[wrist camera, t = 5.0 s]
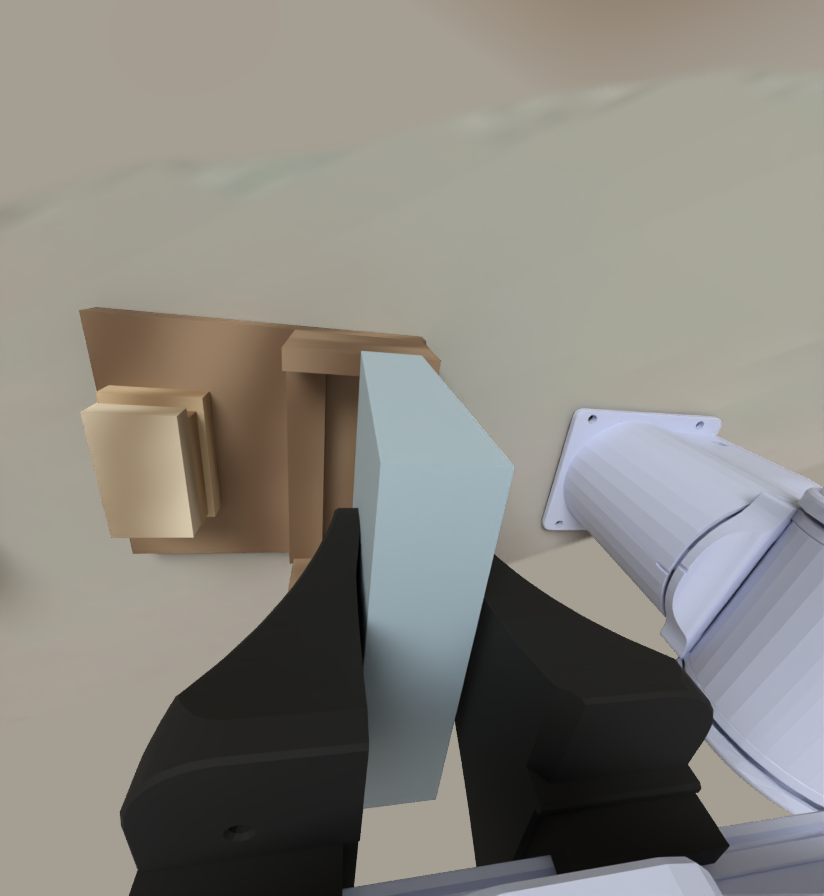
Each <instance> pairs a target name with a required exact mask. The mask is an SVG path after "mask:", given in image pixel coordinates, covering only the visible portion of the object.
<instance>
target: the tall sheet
mask: <svg viewBox="0 0 824 896" xmlns="http://www.w3.org/2000/svg"><path fill="white" fill-rule="evenodd" d="M514 468H515V467H514V465H513V464H512V463H511V462H510V461H509V459H508V458H507V457H506V456H505V455H504V453H503V452H502V451H501V450H500V449H499V447H498V446H497V445H496V444H495V443H494V441H493V440H492V439H491V438H490V437H489V435H488V434H487V433H486V432H485V431H484V429H483V428H482V427H481V426H480V425H479V423H478V422H477V421H476V420H475V419H474V417H473V416H472V415H471V414H470V413H469V411H468V410H467V409H466V408H465V407H464V405H463V404H462V403H461V402H460V401H459V399H458V398H457V397H456V396H455V395H454V393H453V392H452V391H451V390H450V389H449V387H448V386H447V385H446V384H445V383H444V381H443V380H442V379H441V378H440V377H439V375H438V374H437V373H436V372H435V371H434V369H433V368H432V367H431V366H430V365H429V363H428V362H427V361H426V360H425V359H424V357H423V356H420V355H408V354H395V353H382V352H369V351H361V362H360V381H359V399H358V418H357V436H356V455H355V473H354V492H353V508H358V511H359V519H360V541H359V557H358V573H357V603H358V617H359V631H360V642H361V654H362V664H363V673H364V683H365V692H366V700H367V709H368V730H369V756H368V766H367V776H366V785H365V795H364V805H363V809H365V808H373V807H380V806H389V805H396V804H404V803H412V802H419V801H427V800H435V799H436V796H437V792H438V788H439V784H440V779H441V775H442V771H443V766H444V763H445V758H446V754H447V750H448V746H449V741H450V737H451V733H452V729H453V725H454V721H455V716H456V712H457V708H458V704H459V700H460V695H461V691H462V687H463V683H464V678H465V674H466V670H467V666H468V662H469V657H470V653H471V649H472V645H473V641H474V636H475V632H476V628H477V624H478V619H479V615H480V611H481V607H482V603H483V598H484V594H485V590H486V586H487V582H488V577H489V573H490V569H491V565H492V561H493V556H494V552H495V548H496V544H497V539H498V535H499V531H500V527H501V523H502V518H503V514H504V510H505V506H506V502H507V497H508V493H509V489H510V485H511V481H512V476H513V472H514Z"/></svg>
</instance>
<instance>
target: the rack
mask: <svg viewBox="0 0 824 896" xmlns="http://www.w3.org/2000/svg"><path fill="white" fill-rule="evenodd" d="M79 312H80V317H81V321H82V326H83V330H84V335H85V339H86V344H87V349H88V353H89V358H90V362H91V367H92V371H93V376H94V380H95V385H96V389H97V391H99V390H101V389H102V388H104V387H106V386H108V385H113V386H129V387H146V388H163V389H180V390H196V391H210V401H211V411H212V421H213V430H214V440H215V450H216V460H217V470H218V480H219V490H220V499H221V507H220V509H219V511H218V513H217V514H216V516H215V517H206V518H205V520H204V522H203V524H202V526H200V527H199V529H198V531H197V532H196V534H195V536H194V538H130V542H131V547H132V551H133V554H141V553H245V552H290V563H293V566H292V572H291V577H290V583H289V589H288V592H289V591H290V589H291V588H292V587H293V585H294V584H295V583H296V581H297V580H298V579H299V577H300V576H301V575H302V573H303V572H304V570H305V568H306V567H307V565H308V564H309V562H310V561H311V559H312V558H313V556H314V555H315V553H316V551H317V549H318V548H319V546H320V544H321V542H322V540H323V538H324V537H325V534H326V532H327V530H328V528H329V526H330V523H331V521H332V518H333V514H334V511H335V510H336V509H337V508H353V492H354V473H355V455H356V436H357V418H358V399H359V381H360V362H361V351H369V352H382V353H395V354H408V355H420V356H423V357H424V359H425V360H426V361H427V362H428V363H429V365H430V366H431V367H432V368H433V369H434V371H435V372H436V373H437V374H438V375H439V369H440V362H441V360H440V359H439V358H438V357H437V356H436V355H435V354H434V353H433V352H432V351H431V350H430V349H429V348H428V347H427V346H426V341H425V340H424V339H423V338H422V337H417V336H406V335H395V334H384V333H373V332H362V331H351V330H340V329H329V328H318V327H307V326H296V325H285V324H274V323H263V322H252V321H241V320H230V319H219V318H208V317H197V316H186V315H175V314H164V313H153V312H142V311H132V310H121V309H110V308H99V307H95V308H90V309H84V310H79Z"/></svg>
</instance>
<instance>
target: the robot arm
mask: <svg viewBox="0 0 824 896" xmlns="http://www.w3.org/2000/svg"><path fill="white" fill-rule="evenodd" d="M591 415H593V418H592V419H591V420H590V421H588V418H589V417H590V416H591ZM698 422H699V423H698ZM697 423H698V425H697ZM696 425H697V426H696ZM720 427H721V420H720V419H719V418H716V417H713V416H699V415H683V414H667V413H651V412H635V411H619V410H603V409H587V408H582V409H579V410H577V411H576V412H575V413H574V415H573V417H572V421H571V424H570V428H569V431H568V434H567V438H566V441H565V445H564V448H563V451H562V455H561V458H560V462H559V465H558V468H557V472H556V475H555V479H554V482H553V485H552V489H551V492H550V496H549V499H548V502H547V506H546V509H545V513H544V516H543V519H542V525H543V526H544V528H545V529H547V530H587V531H588V532H589V533H590V534H591V535H592V536H593V537H594V538H595V539H596V541H597V542H598V543H599V544H600V545H601V546H602V547H603V548H604V549H605V550H606V552H607V553H608V554H609V555H610V556H611V557H612V558H613V559H614V560H615V562H616V563H617V564H618V565H619V566H620V567H621V568H622V569H623V571H624V572H625V573H626V574H627V575H628V576H629V577H630V578H631V579H632V581H633V582H634V583H635V584H636V585H637V586H638V587H639V588H640V589H641V591H642V592H643V593H644V594H645V595H646V596H647V597H648V598H649V599H650V601H651V602H652V603H653V604H654V605H655V606H656V607H657V608H658V609H659V611H660V612H661V613H662V614H663V615H664V616H665V617H666V622H665V624H664V627H663V628H662V630H661V632H660V635H661V636H662V637H663V638H664V639H665V640H666V642H667V643H668V644H669V645H670V646H671V647H672V649H673V650H674V651H675V652H676V653H677V655H678V656H679V657H678V658H677V659H676V660H675V659H674V658H671V657H669V656H667V655H664V654H662V653H659V652H657V651H655V650H653V649H650V648H648V647H646V646H643V645H641V644H638V643H636V642H634V641H631V640H629V639H627V638H625V637H623V636H621V635H619V634H617V633H615V632H612V631H611V630H609V629H607V628H604V627H603V626H601V625H599V624H597V623H595V622H593V621H591V620H589V619H587V618H586V617H583V616H582V615H580V614H578V613H577V612H575V611H573V610H572V609H570V608H568V607H567V606H565V605H563V604H562V603H560V602H558V601H557V600H555V599H553V598H552V597H550V596H549V595H547V594H546V593H544V592H543V591H541V590H540V589H538V588H537V587H535V586H534V585H533V584H531V583H530V582H528V581H527V580H525V579H524V578H523V577H521V576H520V575H519V574H518V573H516V572H515V571H514V570H513V569H511V568H510V567H509V566H508V565H506V564H505V563H504V562H503V561H502V560H500V559H499V558H498V557H497V556H496V555H495V554H494V556H493V561H492V565H491V569H490V573H489V577H488V582H487V586H486V590H485V594H484V598H483V603H482V607H481V611H480V615H479V619H478V624H477V628H476V632H475V636H474V641H473V645H472V649H471V653H470V657H469V662H468V666H467V670H466V674H465V678H464V683H463V687H462V691H461V695H460V700H459V704H458V708H457V712H456V716H455V725H456V731H457V737H458V743H459V749H460V755H461V761H462V768H463V775H464V780H465V788H466V795H467V801H468V808H469V815H470V822H471V830H472V837H473V845H474V852H475V860H476V867H474V868H468V869H462V870H456V871H449V872H443V873H438V874H431V875H425V876H419V877H413V878H407V879H400V880H394V881H388V882H382V883H377V884H370V885H364V886H358V887H354V881H355V870H356V860H357V851H358V841H360V833H361V824H362V814H363V805H364V795H365V785H366V776H367V766H368V756H369V730H368V709H367V700H366V692H365V683H364V673H363V664H362V654H361V642H360V631H359V617H358V603H357V573H358V557H359V541H360V519H359V511H358V508H337V509H336V510H335V511H334V514H333V518H332V521H331V523H330V526H329V528H328V530H327V532H326V534H325V537H324V538H323V540H322V542H321V544H320V546H319V548H318V549H317V551H316V553H315V555H314V556H313V558H312V559H311V561H310V562H309V564H308V565H307V567H306V568H305V570H304V572H303V573H302V575H301V576H300V577H299V579H298V580H297V581H296V583H295V584H294V585H293V587H292V588H291V589H290V591H289V592H288V593H287V594H286V596H285V597H284V598H283V599H282V600H281V602H280V603H279V604H278V605H277V606H276V607H275V608H274V609H273V611H272V612H271V613H270V614H269V615H268V616H267V617H266V618H265V619H264V620H263V622H262V623H261V624H260V625H259V626H258V627H257V628H256V629H255V630H254V631H253V632H252V633H251V634H249V635H248V636H247V637H246V638H245V639H244V640H243V641H242V642H241V643H240V644H239V645H238V646H237V647H236V648H234V649H233V650H232V651H231V652H230V653H229V654H228V655H227V656H226V657H225V658H224V659H222V660H221V661H220V662H219V663H218V664H217V665H215V666H214V667H213V668H212V669H210V670H209V671H208V672H207V673H205V674H204V675H203V676H202V677H200V678H199V679H198V680H196V681H195V682H194V683H193V684H191V685H190V686H189V687H188V688H187V689H185V690H184V691H183V692H181V693H180V694H179V695H177V696H176V697H175V699H174V700H173V702H172V704H171V705H170V707H169V708H168V710H167V712H166V713H165V715H164V717H163V718H162V720H161V722H160V724H159V725H158V727H157V729H156V731H155V733H154V735H153V737H152V738H151V740H150V742H149V744H148V746H147V748H146V750H145V752H144V754H143V756H142V758H141V761H140V763H139V765H138V768H137V770H136V773H135V775H134V778H133V780H132V783H131V785H130V788H129V790H128V793H127V795H126V798H125V801H124V803H123V805H122V808H121V811H120V818H121V827H122V829H123V832H124V834H125V837H126V840H127V843H128V845H129V848H130V850H131V853H132V856H133V859H134V861H135V864H136V866H137V869H138V871H137V874H136V877H135V879H134V882H133V885H132V888H131V891H130V894H129V896H824V488H822V487H821V486H819V485H818V484H816V483H815V482H813V481H812V480H810V479H808V478H806V477H803V476H801V475H799V474H797V473H795V472H793V471H791V470H789V469H786V468H784V467H782V466H780V465H778V464H776V463H774V462H771V461H769V460H767V459H765V458H763V457H761V456H759V455H756V454H754V453H752V452H750V451H748V450H746V449H744V448H742V447H739V446H737V445H735V444H733V443H731V442H729V441H727V440H724V439H722V438H720V437H718V436H717V434H718V431H719V429H720ZM558 521H559V523H557V524H556V522H558ZM704 740H705V741H706V742H707V743H708V745H709V746H710V747H711V748H712V749H713V751H714V752H715V753H716V754H717V755H718V756H719V757H720V758H721V759H722V760H723V761H724V762H725V763H726V764H727V765H728V766H729V767H730V768H731V769H732V770H733V771H734V772H735V773H736V774H737V775H738V776H739V777H741V778H742V779H743V780H744V781H745V782H746V783H747V784H749V785H750V786H751V787H752V788H754V789H755V790H756V791H758V792H759V793H760V794H762V795H763V796H765V797H766V798H767V799H769V800H770V801H772V802H773V803H775V804H776V805H778V806H780V807H781V808H783V809H785V810H787V811H788V812H790V813H791V814H793V815H792V816H785V817H780V818H773V819H767V820H761V821H755V822H749V823H743V824H737V825H730V826H724V827H717V825H716V824H715V822H714V821H713V819H712V818H711V816H710V814H709V813H708V811H707V810H706V808H705V807H704V805H703V804H702V803H701V801H700V799H699V798H698V796H697V795H696V793H698V792H699V791H700V790H701V785H700V782H699V780H698V779H697V777H696V776H695V774H694V773H693V772H692V770H691V769H690V767H689V766H688V763H689V761H690V760H691V759H692V757H693V756H694V754H695V753H696V751H697V750H698V748H699V747H700V745H701V744H702V742H703V741H704Z"/></svg>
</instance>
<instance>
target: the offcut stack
mask: <svg viewBox="0 0 824 896" xmlns="http://www.w3.org/2000/svg"><path fill="white" fill-rule="evenodd" d="M96 397H97V401H98V403H95V404H94V405H92V406H90V407H88V408H86V409H85V410H83V411H81V412H80V413H81V417H82V421H83V425H84V429H85V433H86V437H87V441H88V445H89V449H90V453H91V458H92V462H93V466H94V470H95V474H96V478H97V482H98V486H99V490H100V494H101V498H102V502H103V507H104V511H105V515H106V519H107V523H108V527H109V531H110V535H111V538H194V536H195V534H196V532H197V531H198V529H199V527H200V526H202V524H203V522H204V520H205V518H206V517H215V516H216V514H217V513H218V511H219V509H220V507H221V499H220V490H219V480H218V470H217V460H216V450H215V440H214V430H213V421H212V411H211V401H210V391H196V390H180V389H163V388H146V387H129V386H113V385H108V386H106V387H104V388H102V389H101V390H99V391H97V392H96Z"/></svg>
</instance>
